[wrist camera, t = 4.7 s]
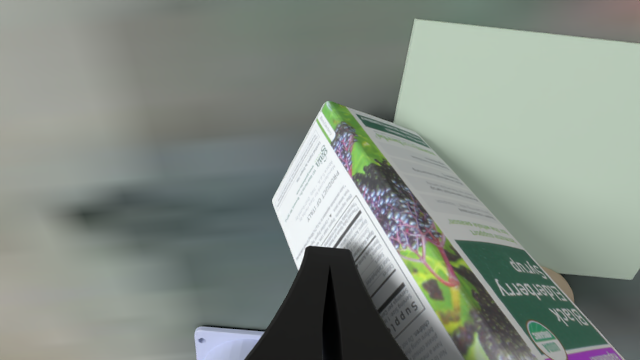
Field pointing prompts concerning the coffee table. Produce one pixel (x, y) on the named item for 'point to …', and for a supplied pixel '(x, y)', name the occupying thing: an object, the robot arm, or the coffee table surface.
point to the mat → (536, 135)
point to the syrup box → (426, 247)
